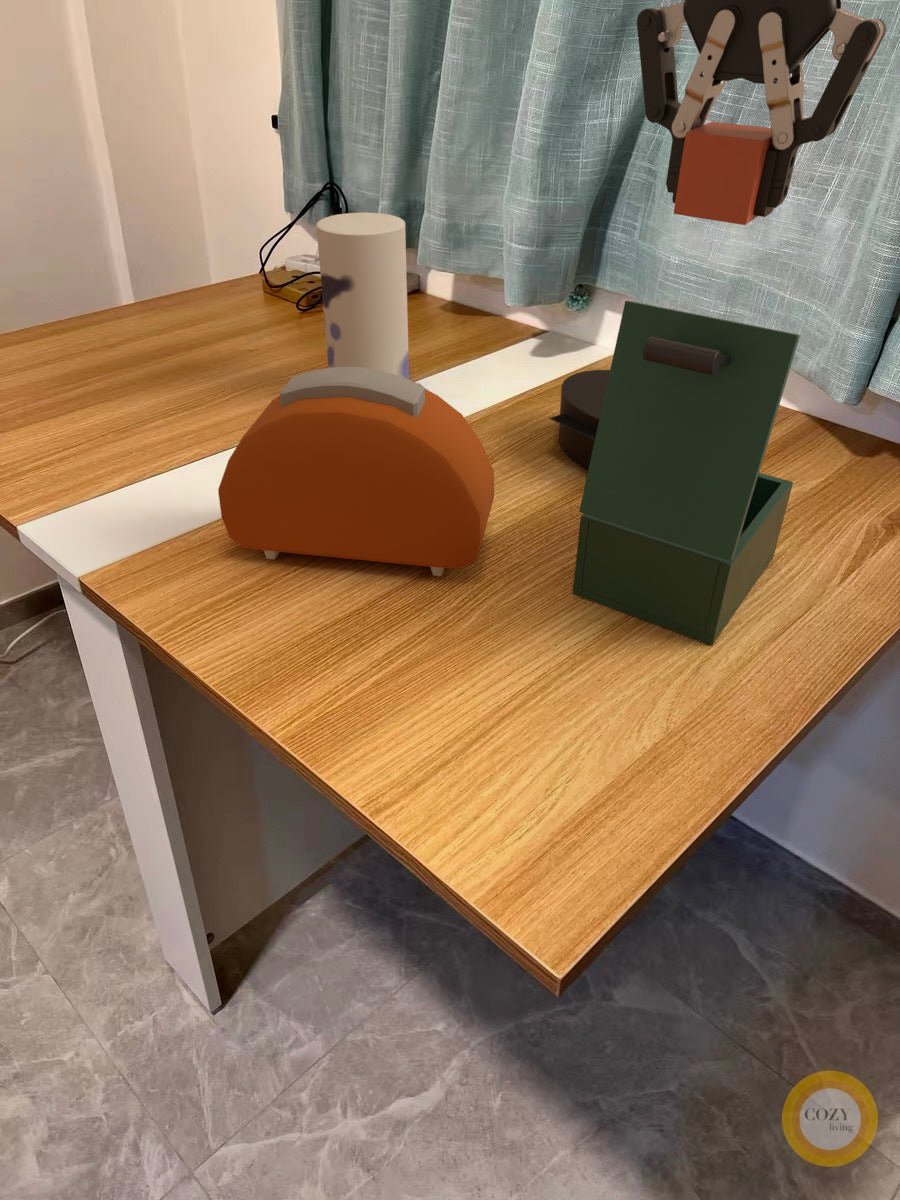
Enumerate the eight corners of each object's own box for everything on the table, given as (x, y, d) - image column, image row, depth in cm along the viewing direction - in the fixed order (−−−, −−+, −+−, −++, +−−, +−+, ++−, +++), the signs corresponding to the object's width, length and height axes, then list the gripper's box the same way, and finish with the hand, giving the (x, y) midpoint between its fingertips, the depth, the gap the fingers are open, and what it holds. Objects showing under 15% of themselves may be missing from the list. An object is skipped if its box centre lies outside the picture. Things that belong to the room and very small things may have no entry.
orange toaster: (493, 532, 85) (500, 363, 75) (480, 585, 77) (485, 406, 68) (259, 510, 88) (235, 345, 78) (225, 559, 81) (194, 385, 71)
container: (314, 388, 112) (298, 220, 100) (375, 367, 118) (367, 206, 106) (363, 412, 106) (352, 237, 94) (425, 390, 112) (423, 222, 100)
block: (767, 210, 56) (785, 129, 54) (745, 225, 53) (763, 140, 51) (698, 199, 58) (711, 121, 56) (672, 214, 55) (685, 131, 52)
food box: (646, 516, 87) (657, 444, 82) (773, 556, 81) (793, 481, 77) (572, 593, 77) (580, 516, 72) (712, 645, 71) (730, 565, 66)
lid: (629, 300, 65) (600, 300, 61) (800, 334, 60) (782, 336, 56) (582, 510, 72) (554, 522, 68) (733, 559, 66) (712, 575, 62)
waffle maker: (619, 417, 108) (622, 357, 104) (734, 467, 95) (742, 401, 91) (523, 450, 102) (523, 388, 97) (632, 508, 89) (636, 439, 85)
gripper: (630, -148, 46) (593, 203, 56) (925, -156, 40) (823, 239, 50) (681, -139, 51) (639, 182, 61) (950, -144, 45) (853, 212, 55)
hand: (722, 206), depth 56 cm, fingers closed on block, 4 cm apart
